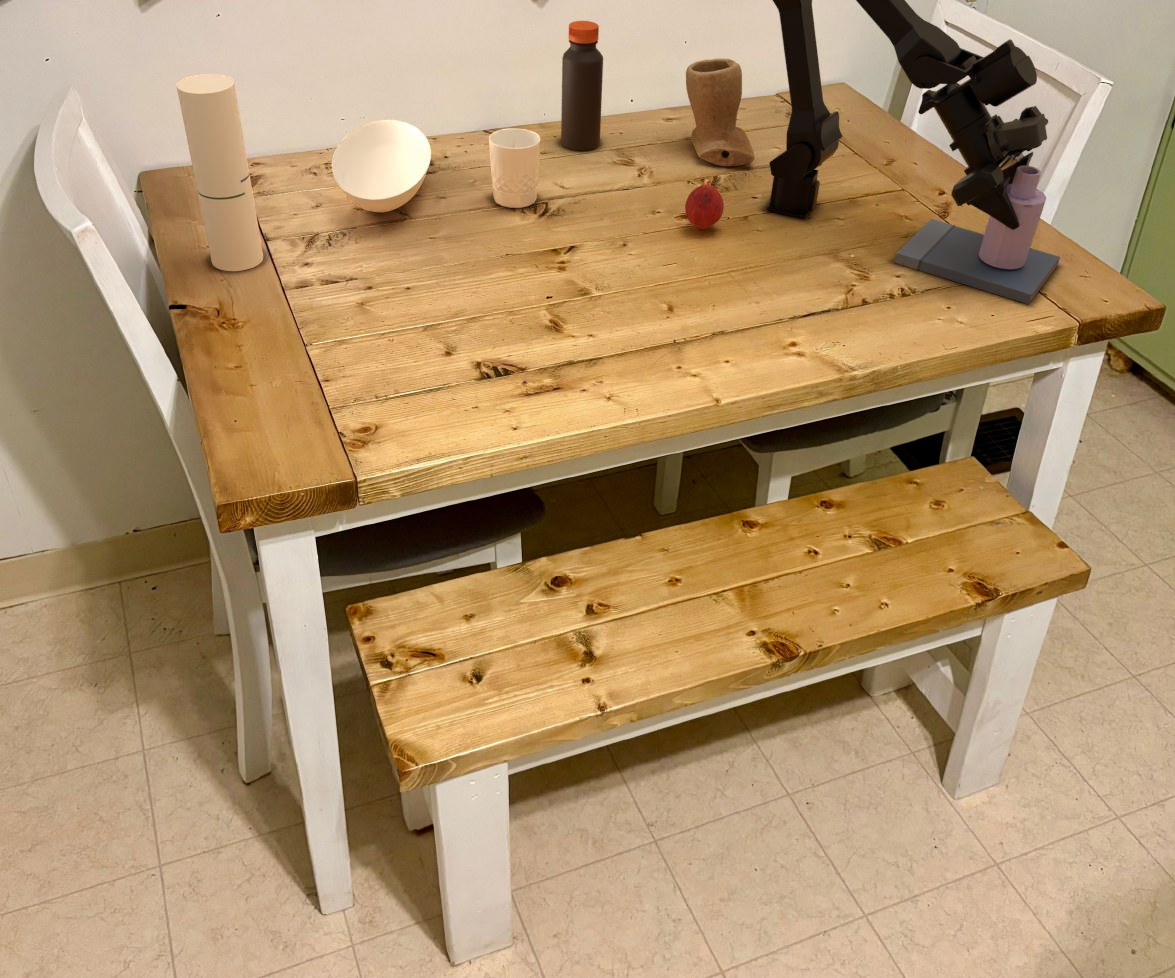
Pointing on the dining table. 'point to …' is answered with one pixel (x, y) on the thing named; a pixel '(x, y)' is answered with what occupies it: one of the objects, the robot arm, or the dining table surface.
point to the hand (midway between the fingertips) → (1024, 219)
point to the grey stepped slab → (973, 262)
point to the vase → (1028, 203)
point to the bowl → (381, 164)
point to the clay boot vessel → (717, 112)
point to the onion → (704, 206)
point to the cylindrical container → (221, 170)
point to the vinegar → (582, 88)
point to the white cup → (514, 166)
